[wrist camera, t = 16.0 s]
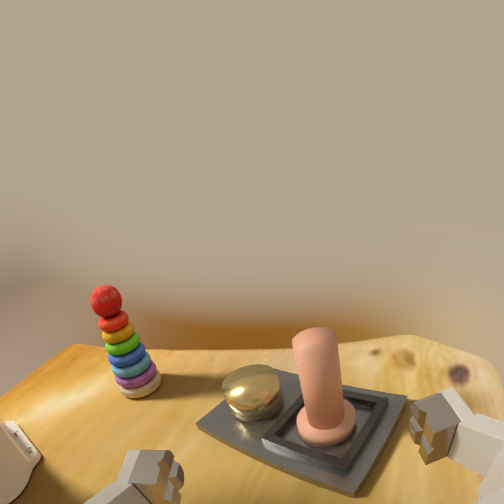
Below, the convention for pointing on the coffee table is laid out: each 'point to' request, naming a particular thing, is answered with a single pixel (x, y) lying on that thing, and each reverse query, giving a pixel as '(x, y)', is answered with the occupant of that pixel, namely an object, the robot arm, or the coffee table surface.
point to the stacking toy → (124, 345)
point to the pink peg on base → (322, 389)
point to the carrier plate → (286, 430)
